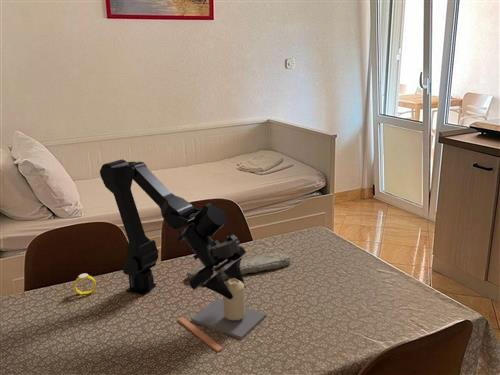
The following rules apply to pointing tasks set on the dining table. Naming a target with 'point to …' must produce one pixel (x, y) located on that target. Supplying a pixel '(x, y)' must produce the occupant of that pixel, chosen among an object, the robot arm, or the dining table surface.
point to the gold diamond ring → (82, 277)
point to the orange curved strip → (200, 334)
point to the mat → (217, 321)
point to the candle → (235, 300)
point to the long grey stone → (252, 264)
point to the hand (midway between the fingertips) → (238, 293)
